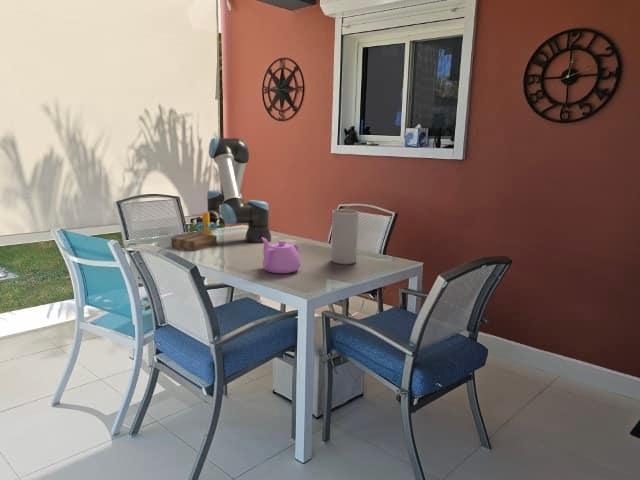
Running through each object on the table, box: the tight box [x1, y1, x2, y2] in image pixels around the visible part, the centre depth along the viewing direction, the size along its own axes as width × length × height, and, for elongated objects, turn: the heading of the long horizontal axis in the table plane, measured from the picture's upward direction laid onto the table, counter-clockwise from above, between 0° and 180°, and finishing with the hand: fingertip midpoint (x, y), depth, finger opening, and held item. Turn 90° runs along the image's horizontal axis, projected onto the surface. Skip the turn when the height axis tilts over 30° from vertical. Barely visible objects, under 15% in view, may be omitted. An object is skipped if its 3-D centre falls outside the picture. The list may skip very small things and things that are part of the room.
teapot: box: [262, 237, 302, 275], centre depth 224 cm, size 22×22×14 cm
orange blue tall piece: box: [196, 211, 217, 235], centre depth 289 cm, size 12×10×15 cm
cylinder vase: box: [330, 209, 359, 265], centre depth 239 cm, size 12×12×25 cm
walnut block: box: [170, 232, 218, 252], centre depth 267 cm, size 16×18×5 cm
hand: (205, 223), depth 285 cm, fingers open, 13 cm apart
